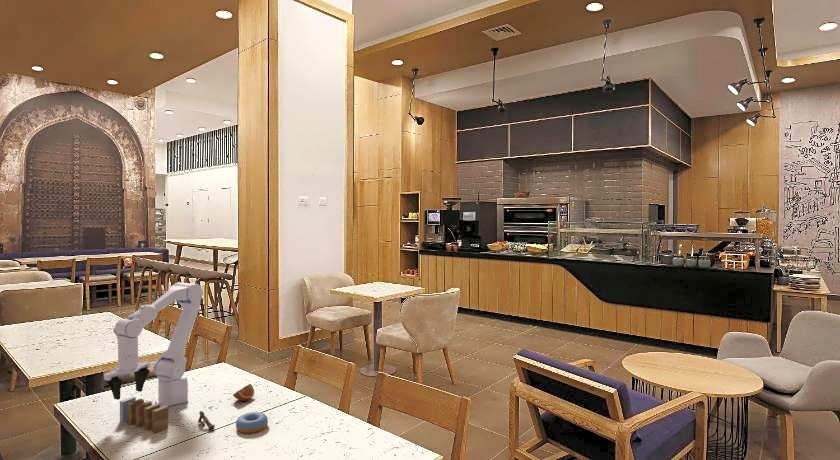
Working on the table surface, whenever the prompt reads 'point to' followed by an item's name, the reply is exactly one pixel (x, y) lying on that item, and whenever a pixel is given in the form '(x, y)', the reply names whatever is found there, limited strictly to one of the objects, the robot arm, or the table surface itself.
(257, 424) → the doughnut
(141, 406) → the domino
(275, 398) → the table surface
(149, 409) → the domino
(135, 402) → the domino
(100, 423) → the table surface
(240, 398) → the fruit slice
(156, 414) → the domino
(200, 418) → the dark angular frame
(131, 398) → the domino
